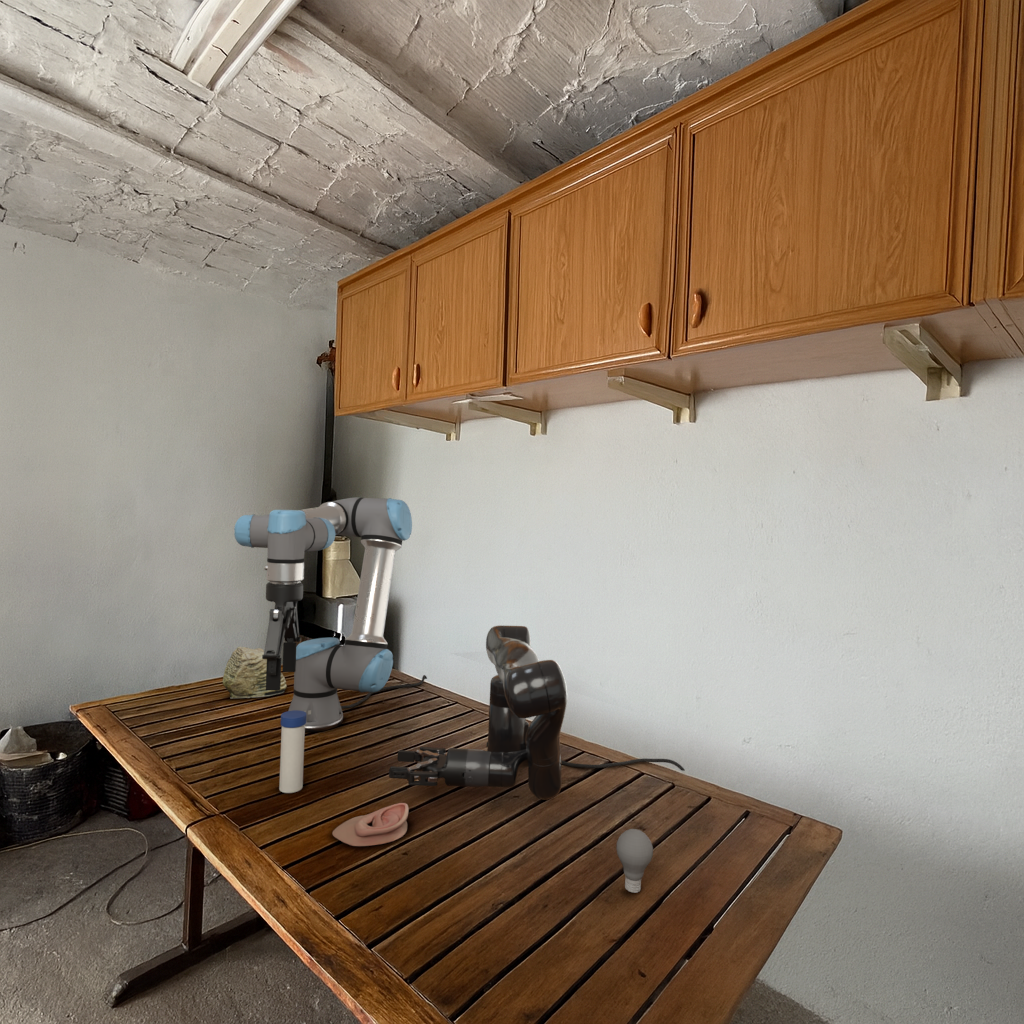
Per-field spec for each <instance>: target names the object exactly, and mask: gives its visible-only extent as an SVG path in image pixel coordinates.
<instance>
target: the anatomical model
mask: <svg viewBox="0 0 1024 1024" xmlns="http://www.w3.org/2000/svg"><path fill="white" fill-rule="evenodd" d="M409 810H410V809H409V805H408V803H406V802H399V803H395V804H391V805H387V806H384V807H382V808H380V809H377V810H375V811H373V812H370V813H368V814H365V815H359V816H355V817H352V818H350V819H347V820H346V821H343V822H342V823H340V824H339V825H338V826H336V828H334V829H333V830H332V836H333V837H334V838H335V839H336V840H338V841H341V842H342V843H344V844H346V845H349V846H352V847H369V846H379V845H383V844H387V843H391V842H394V841H396V840H399V839H400V838H402V837H404V835H406V833H407V831H408V822H407V820H408V817H409Z"/></svg>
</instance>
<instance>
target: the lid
mask: <svg viewBox="0 0 1024 1024" xmlns="http://www.w3.org/2000/svg"><path fill="white" fill-rule="evenodd" d="M305 724H306V712H304V711H298V710H294V711H284V712H281V714H280V726H281V727H282V726H283V727H287V728H295V727H300V726H303V725H305Z"/></svg>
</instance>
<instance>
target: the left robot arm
mask: <svg viewBox="0 0 1024 1024" xmlns="http://www.w3.org/2000/svg"><path fill="white" fill-rule="evenodd" d="M233 529H234V533H233V535H234V539H235V542H236V543H237V544H239V545H240V546H242V547H248V548H252V549H254V548H262V549H267V557H266V565H265V566H264V568H263V569H264V571H266V580H267V581H268V582H267V583H266V584H265V600H266V601H268V602H271V603H272V602H273V603H274V608H271V609H270V610H269V617H268V618H269V620H268V626H267V632H266V639H265V646H264V655H262V659H267V668H266V690H280V685H281V673H293V695H292V696H293V697H292V699H291V702H290V704H289V708H288V711H294V710H298V711H304V712H306V724H305V733H316V732H325V731H329V730H332V729H335V728H337V727H339V726H340V725H342V723H343V722H344V714H343V710H346V709H347V710H348V709H352V708H354V707H357V706H358V705H360V704H362V703H363V702H365V701H367V700H368V699H369V698H370V697H371V696H372V695H373V694H375V693H378V692H383V691H387V690H388V691H389V690H395V689H403V688H412V687H418V686H420V685H423V683H424V682H425V680H427V679H428V677H427V675H426V674H424V675H422V678H421V680H420V681H419V682H416V683H408V684H397V685H390V686H385V685H386V684H387V683H388V681H389V679H390V676H391V673H392V669H393V666H394V659H393V658H394V655H393V652H392V651H391V650H390V649H388V642H387V640H386V639H385V637H384V635H385V634H384V632H385V627H386V621H387V620H386V618H387V612H388V607H389V606H388V605H389V598H390V592H391V586H392V579H393V571H394V564H395V558H396V552H398V551H399V550H400V549H402V546H403V541H407V540H410V537H411V535H412V530H413V518H412V513H411V509H410V507H409V505H408V504H407V503H406V501H404V500H402V499H397V498H396V499H395V498H391V497H388V498H387V497H385V498H383V497H382V498H380V497H359V496H357V497H356V496H355V497H354V496H353V497H348V498H343V499H337V500H331V501H327V502H323V503H321V504H320V505H319V506H318V507H311V508H310V507H309V508H304V509H273V510H271V511H270V512H269V514H263V515H261V514H259V515H258V514H244V515H241V516H240V517H238V519H237V520H236V522H235V524H234V528H233ZM336 536H346V537H355V538H360V543H361V545H362V546H363V547H364V553H363V559H362V564H361V565H362V566H361V572H360V577H359V586H358V590H357V591H358V592H357V598H356V604H355V611H354V617H353V623H352V628H351V633H350V634H349V635H348V636H347V637H345V638H344V643H343V645H342V644H340V643H341V641H340V639H339V638H338V637H318V638H313V639H307V640H304V641H302V642H301V639H302V638H301V636H300V627H299V617H298V602H299V601H302V600H303V598H304V583H303V582H302V581H303V580H305V553H306V552H315V551H317V552H319V551H323V550H325V549H328V548H330V547H331V546H332V545H333V543H334V541H335V539H336ZM297 643H298V644H297ZM281 653H282V654H281ZM281 655H282V657H281ZM338 690H344V691H345V690H346V691H353V692H359V693H367V694H366V696H364V697H363V698H362V699H359V700H358V701H355V702H354V703H352V704H347V705H341V702H340V699H339V695H338Z"/></svg>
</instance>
